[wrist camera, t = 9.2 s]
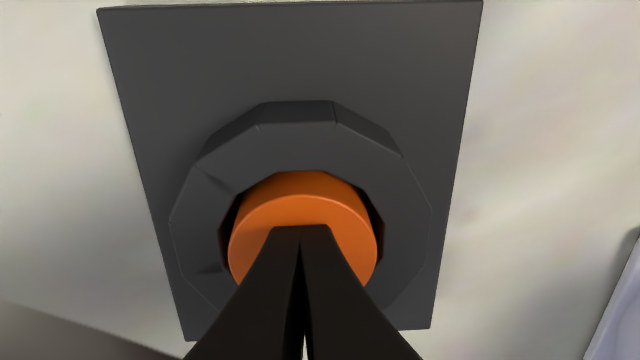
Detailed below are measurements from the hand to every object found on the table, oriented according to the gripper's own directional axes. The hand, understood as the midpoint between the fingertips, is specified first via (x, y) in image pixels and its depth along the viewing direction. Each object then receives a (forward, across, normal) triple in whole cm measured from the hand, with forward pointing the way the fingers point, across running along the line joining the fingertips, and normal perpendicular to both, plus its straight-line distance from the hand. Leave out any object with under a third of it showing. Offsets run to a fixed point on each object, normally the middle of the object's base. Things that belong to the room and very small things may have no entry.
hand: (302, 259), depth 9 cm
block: (+4, 0, 0) cm, 4 cm away
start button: (+2, 0, 0) cm, 2 cm away
